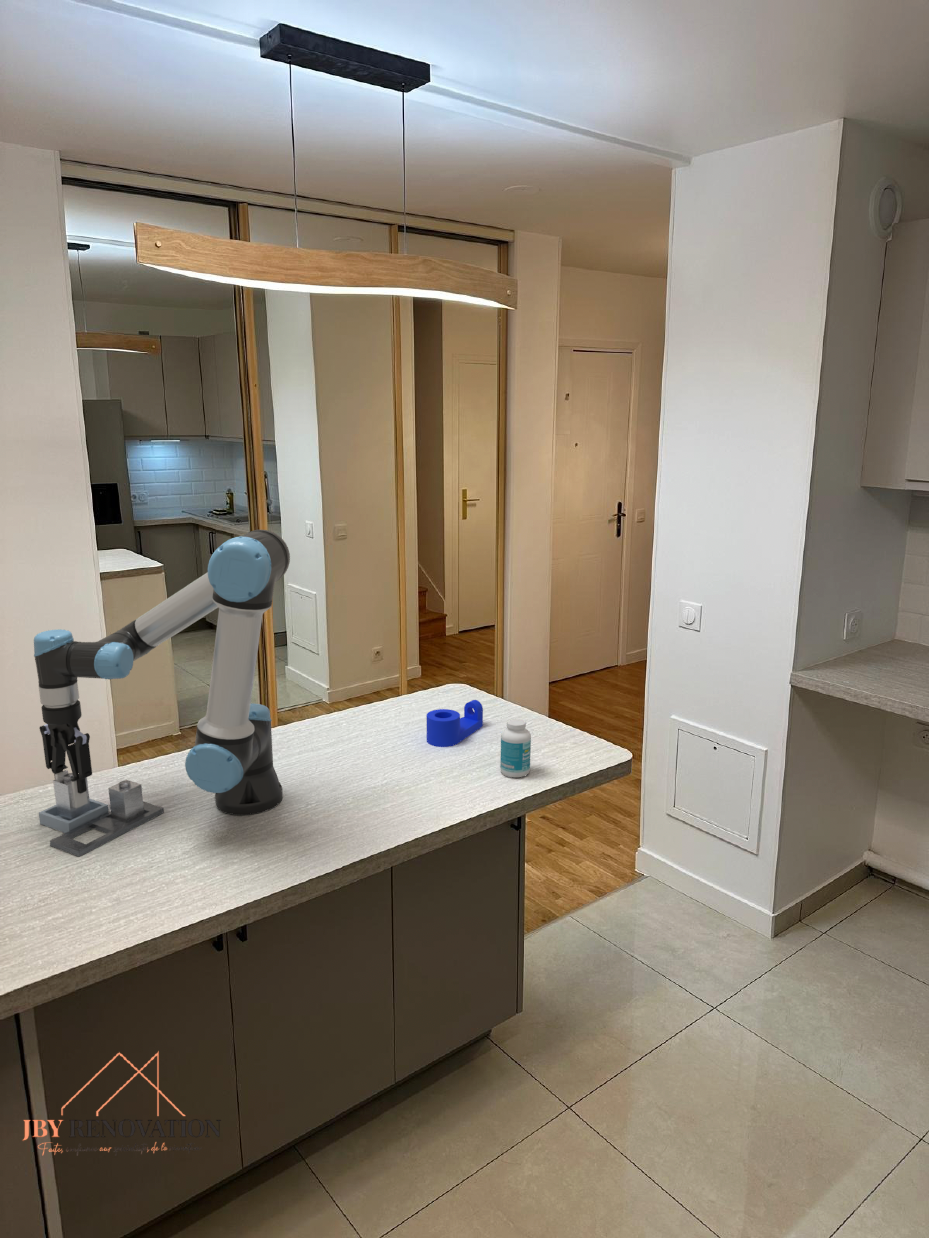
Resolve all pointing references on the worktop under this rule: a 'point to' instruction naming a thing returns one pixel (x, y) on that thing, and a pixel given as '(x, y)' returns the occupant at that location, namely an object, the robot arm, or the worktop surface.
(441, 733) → the bracket
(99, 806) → the tray
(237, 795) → the robot arm
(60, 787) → the knobbed metal block
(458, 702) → the worktop surface
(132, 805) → the grey knobbed block
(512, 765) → the pill bottle
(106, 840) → the grey slotted plate
